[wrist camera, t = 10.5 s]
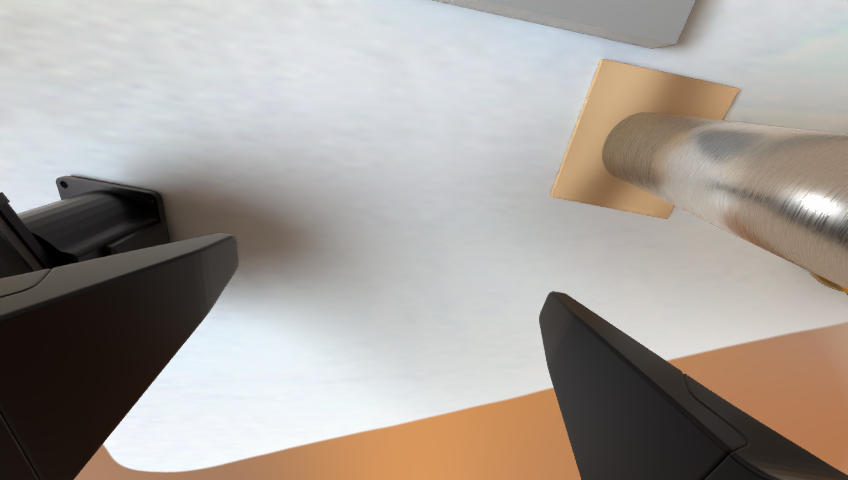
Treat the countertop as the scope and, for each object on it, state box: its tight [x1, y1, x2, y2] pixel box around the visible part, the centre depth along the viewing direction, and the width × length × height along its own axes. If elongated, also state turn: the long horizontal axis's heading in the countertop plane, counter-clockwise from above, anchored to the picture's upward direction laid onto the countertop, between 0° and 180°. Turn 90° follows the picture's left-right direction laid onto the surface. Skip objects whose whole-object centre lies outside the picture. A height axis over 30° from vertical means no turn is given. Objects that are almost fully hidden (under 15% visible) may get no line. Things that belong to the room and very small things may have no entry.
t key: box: [602, 112, 848, 289], centre depth 13 cm, size 4×6×15 cm, turn 9°
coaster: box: [550, 59, 739, 219], centre depth 20 cm, size 8×8×1 cm
